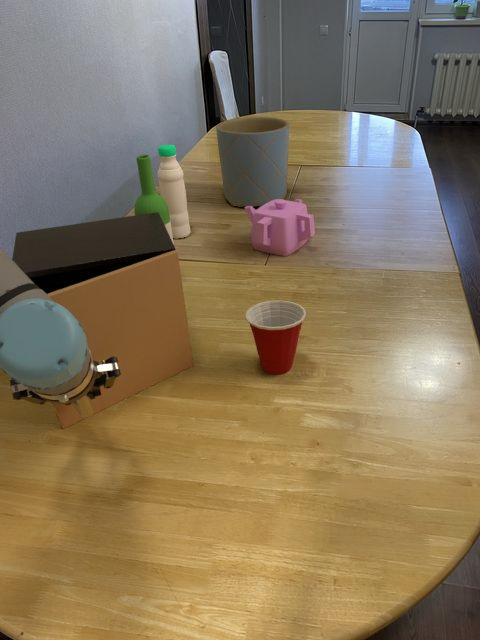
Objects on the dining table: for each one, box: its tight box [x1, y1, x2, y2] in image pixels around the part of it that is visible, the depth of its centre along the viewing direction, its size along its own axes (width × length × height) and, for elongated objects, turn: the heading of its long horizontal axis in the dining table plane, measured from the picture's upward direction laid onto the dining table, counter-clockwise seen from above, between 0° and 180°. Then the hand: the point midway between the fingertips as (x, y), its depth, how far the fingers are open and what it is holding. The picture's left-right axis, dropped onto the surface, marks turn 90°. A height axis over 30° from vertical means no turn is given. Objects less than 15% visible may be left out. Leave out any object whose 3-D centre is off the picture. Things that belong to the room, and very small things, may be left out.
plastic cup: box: [245, 299, 307, 376], centre depth 95 cm, size 11×11×12 cm
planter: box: [215, 116, 290, 208], centre depth 168 cm, size 23×23×24 cm
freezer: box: [11, 212, 177, 294], centre depth 97 cm, size 18×26×24 cm
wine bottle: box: [134, 154, 175, 245], centre depth 119 cm, size 8×8×30 cm
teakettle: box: [244, 198, 316, 257], centre depth 140 cm, size 17×17×12 cm
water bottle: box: [157, 143, 191, 240], centre depth 144 cm, size 7×7×25 cm
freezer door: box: [47, 250, 194, 429], centre depth 84 cm, size 8×26×24 cm, turn 130°
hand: (79, 393), depth 81 cm, fingers closed on freezer door, 3 cm apart
